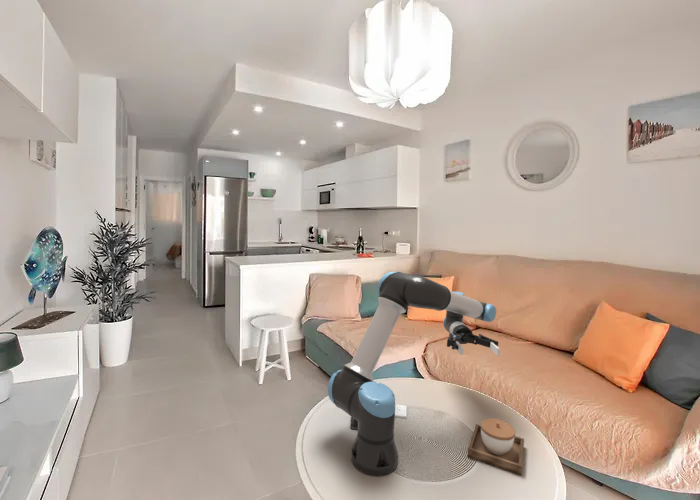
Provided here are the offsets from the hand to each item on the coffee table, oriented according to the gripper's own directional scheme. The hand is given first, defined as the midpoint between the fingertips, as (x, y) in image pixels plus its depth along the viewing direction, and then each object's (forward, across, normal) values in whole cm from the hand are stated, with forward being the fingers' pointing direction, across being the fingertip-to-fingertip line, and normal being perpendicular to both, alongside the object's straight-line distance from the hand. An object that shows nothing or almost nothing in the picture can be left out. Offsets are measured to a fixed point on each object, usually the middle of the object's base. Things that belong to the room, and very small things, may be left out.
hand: (480, 351), depth 126 cm
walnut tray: (+13, -2, -30) cm, 33 cm away
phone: (-5, +43, -31) cm, 53 cm away
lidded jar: (+13, -2, -29) cm, 32 cm away
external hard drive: (-11, +31, -31) cm, 45 cm away
